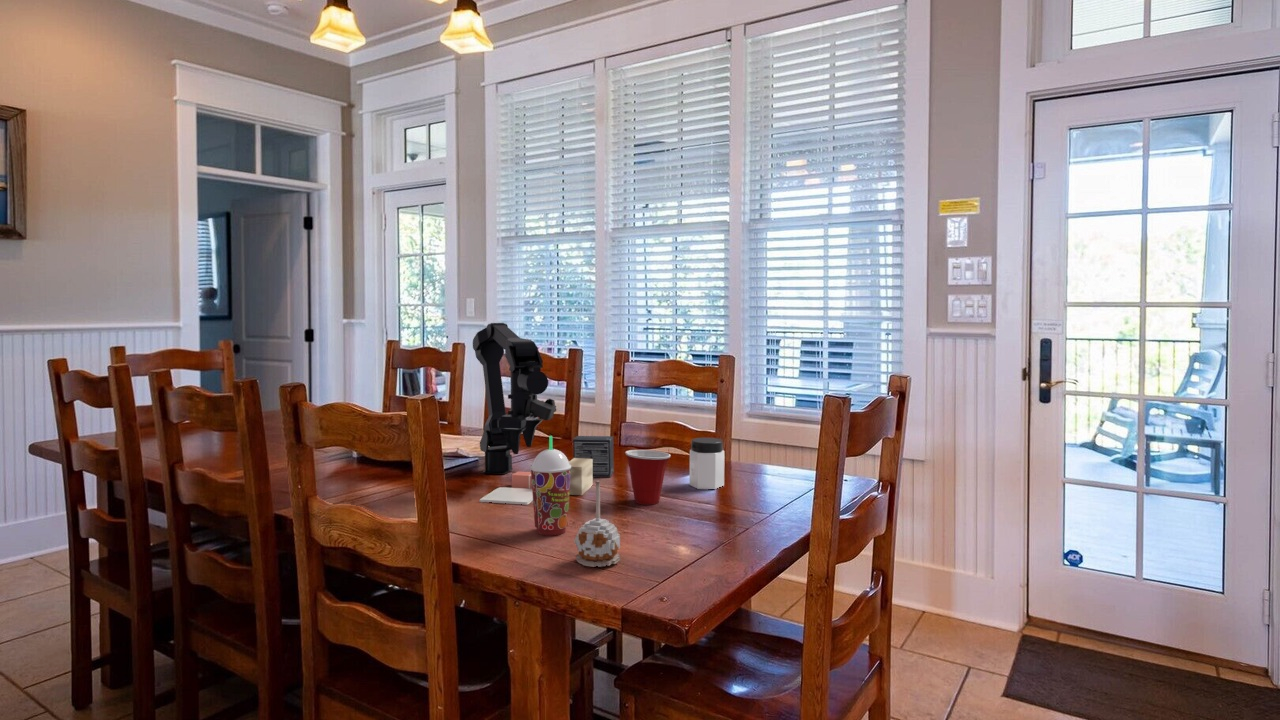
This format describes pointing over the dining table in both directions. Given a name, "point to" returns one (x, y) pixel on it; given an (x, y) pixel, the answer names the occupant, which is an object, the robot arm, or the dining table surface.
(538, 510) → the smoothie
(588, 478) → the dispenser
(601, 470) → the small box
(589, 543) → the caramel apple
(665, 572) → the dining table surface
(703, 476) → the jar
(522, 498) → the tile
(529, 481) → the pink striped block
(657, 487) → the plastic cup
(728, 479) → the dining table surface
